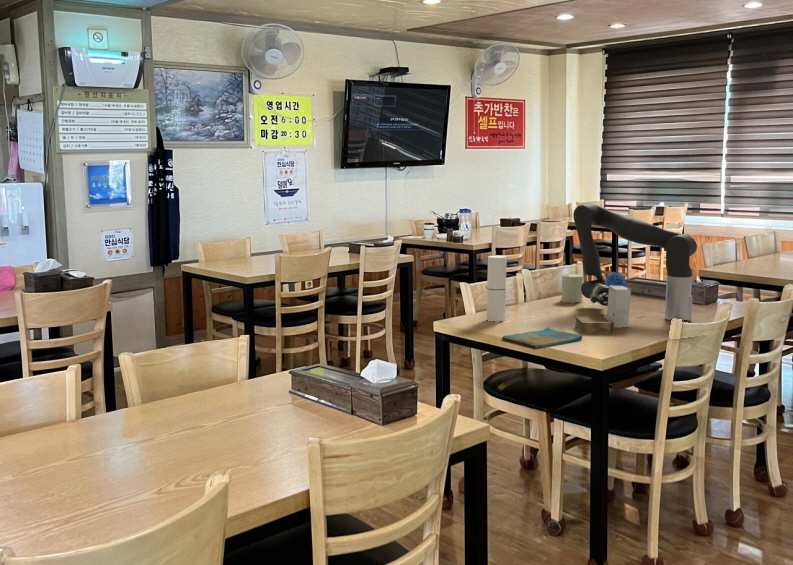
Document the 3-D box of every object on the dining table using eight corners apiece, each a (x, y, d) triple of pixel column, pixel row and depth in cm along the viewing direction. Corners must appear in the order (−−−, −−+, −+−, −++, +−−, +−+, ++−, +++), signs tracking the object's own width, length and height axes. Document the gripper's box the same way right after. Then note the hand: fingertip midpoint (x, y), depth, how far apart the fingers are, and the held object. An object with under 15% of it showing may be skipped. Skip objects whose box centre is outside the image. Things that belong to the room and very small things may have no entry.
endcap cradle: (605, 327, 298) (606, 316, 297) (613, 333, 287) (614, 322, 286) (575, 327, 298) (575, 316, 297) (581, 333, 287) (582, 322, 286)
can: (557, 299, 356) (558, 273, 354) (575, 298, 359) (576, 272, 357) (567, 303, 348) (568, 276, 346) (586, 302, 350) (587, 275, 348)
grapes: (599, 297, 362) (600, 271, 360) (607, 296, 367) (608, 270, 365) (621, 301, 354) (623, 274, 352) (629, 299, 358) (631, 273, 356)
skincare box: (605, 323, 305) (607, 285, 302) (621, 323, 305) (622, 285, 303) (613, 328, 296) (615, 288, 294) (629, 327, 297) (631, 288, 295)
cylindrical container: (490, 322, 306) (492, 258, 302) (483, 319, 312) (485, 255, 309) (507, 321, 307) (509, 257, 304) (500, 318, 314) (502, 255, 310)
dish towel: (583, 341, 276) (584, 334, 276) (536, 351, 263) (536, 343, 262) (547, 333, 290) (547, 326, 290) (500, 341, 276) (500, 334, 276)
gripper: (586, 285, 321) (596, 292, 305) (621, 285, 321) (633, 292, 305) (585, 303, 322) (595, 311, 306) (620, 304, 322) (632, 311, 306)
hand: (614, 301), depth 305 cm, fingers open, 8 cm apart
